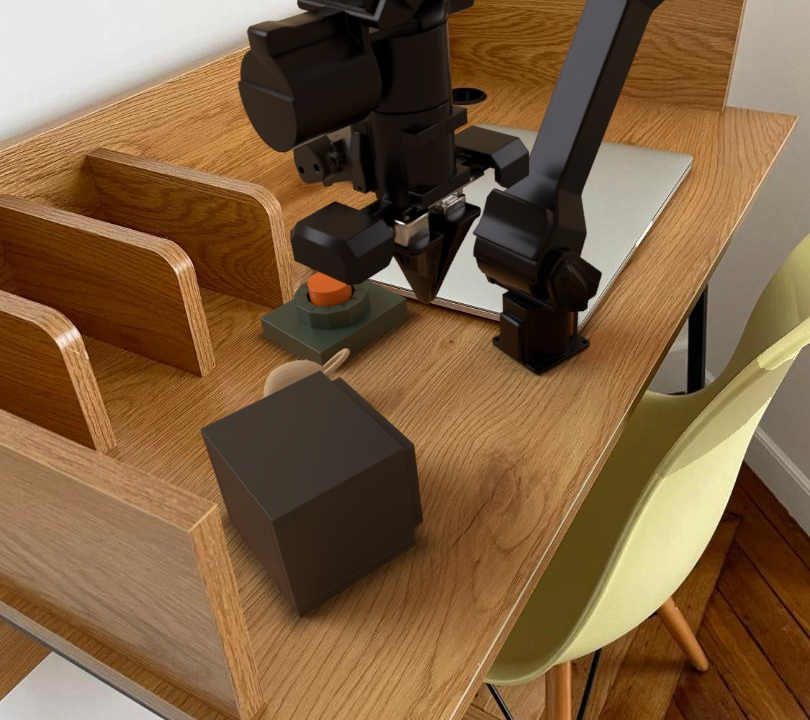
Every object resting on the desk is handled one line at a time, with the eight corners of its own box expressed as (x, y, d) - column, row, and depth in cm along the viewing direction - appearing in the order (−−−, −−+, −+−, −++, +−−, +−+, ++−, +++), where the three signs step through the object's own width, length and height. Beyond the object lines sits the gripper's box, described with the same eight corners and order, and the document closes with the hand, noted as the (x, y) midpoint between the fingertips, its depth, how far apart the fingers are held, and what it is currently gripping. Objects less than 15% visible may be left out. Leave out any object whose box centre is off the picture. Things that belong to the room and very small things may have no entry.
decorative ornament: (261, 407, 72) (248, 359, 69) (355, 388, 73) (347, 339, 70) (264, 437, 69) (251, 389, 66) (362, 417, 70) (354, 368, 67)
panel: (347, 286, 87) (342, 253, 84) (408, 316, 81) (404, 282, 79) (264, 336, 81) (256, 302, 78) (324, 372, 75) (317, 337, 73)
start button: (333, 280, 81) (330, 264, 80) (360, 293, 79) (358, 278, 78) (301, 298, 79) (298, 282, 78) (329, 313, 77) (326, 297, 75)
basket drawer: (366, 445, 66) (353, 369, 61) (437, 514, 60) (429, 435, 55) (259, 504, 62) (236, 427, 57) (322, 585, 56) (303, 506, 51)
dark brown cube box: (338, 463, 66) (320, 369, 60) (416, 544, 59) (403, 447, 53) (230, 522, 62) (199, 428, 56) (299, 617, 55) (272, 521, 49)
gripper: (412, 36, 62) (428, 220, 72) (214, 122, 52) (263, 323, 62) (534, 59, 56) (533, 258, 65) (334, 163, 46) (368, 379, 55)
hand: (426, 300), depth 62 cm, fingers closed
